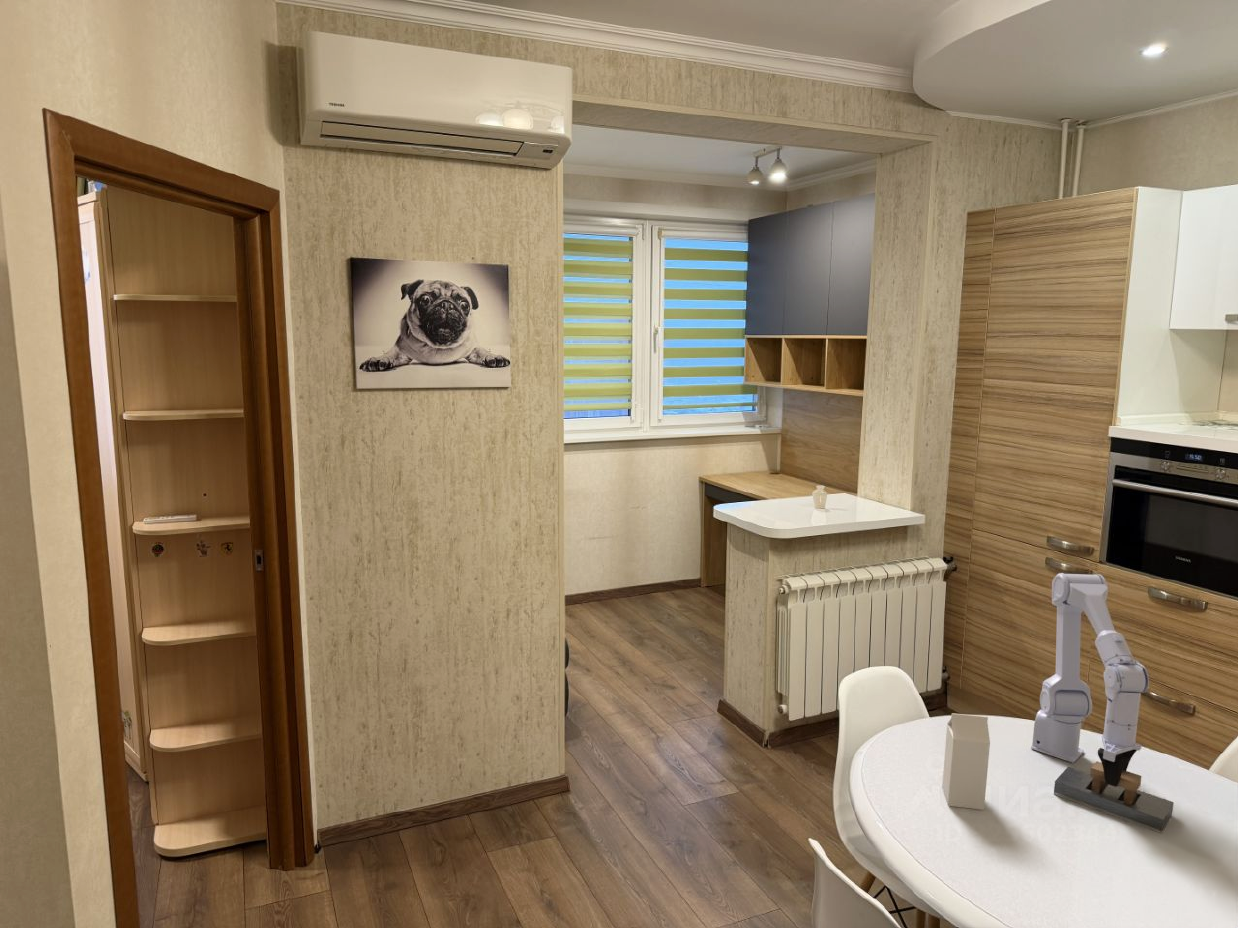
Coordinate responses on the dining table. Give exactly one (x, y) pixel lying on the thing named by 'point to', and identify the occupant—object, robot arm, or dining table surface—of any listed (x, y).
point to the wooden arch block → (1126, 781)
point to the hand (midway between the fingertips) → (1114, 780)
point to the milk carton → (966, 761)
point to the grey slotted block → (1114, 800)
